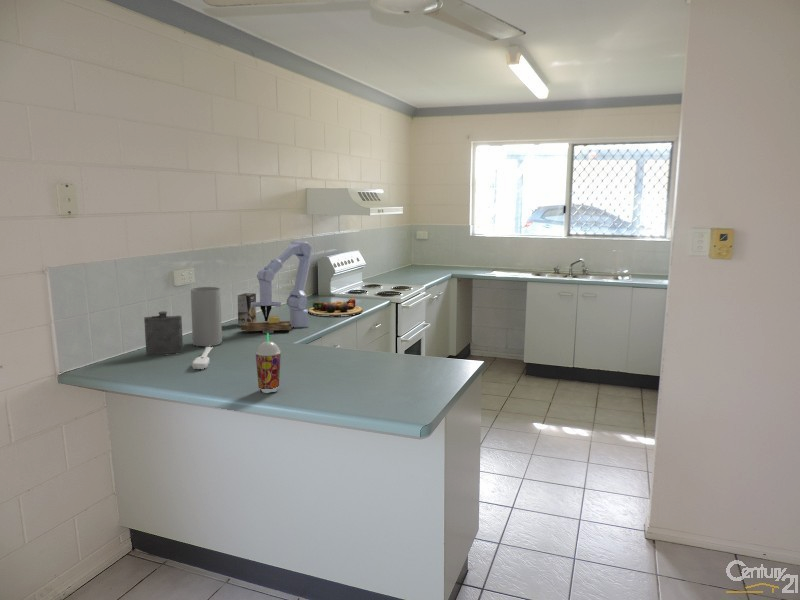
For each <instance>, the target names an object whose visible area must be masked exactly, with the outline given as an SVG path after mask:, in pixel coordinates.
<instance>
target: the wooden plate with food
mask: <svg viewBox="0 0 800 600" xmlns="http://www.w3.org/2000/svg"><path fill="white" fill-rule="evenodd" d="M313 310H314V311H313ZM363 311H364V310H363V308H362V307H361V306H359V305H358V306H357V305H356V299H355V298H354V297H351V298H349V299H348V300H347V301H345V300H344V301H339V300H338V301H335V302H334V301H333V302H326V301H324V302H320V300H316V301H313V303H312V307H310V308H309V309H308V312H309V313H312V314H316V315H329V316H341V315H353V314H357V315H359V314H358V313H360V314H362V313H361V312H363ZM309 313H308V314H309ZM353 316H354V315H353Z"/></svg>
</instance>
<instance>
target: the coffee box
mask: <svg viewBox="0 0 800 600" xmlns="http://www.w3.org/2000/svg"><path fill="white" fill-rule="evenodd" d="M255 302H257V294H256V293H255V292H254V293H253V292H251V293H248V292H246V293H241V294H238V295H237V326H239V327H241V324H245V322H257V307H251V303H255Z"/></svg>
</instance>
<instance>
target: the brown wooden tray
mask: <svg viewBox="0 0 800 600" xmlns="http://www.w3.org/2000/svg"><path fill="white" fill-rule="evenodd" d="M265 330H273V331H288V330H292V328H291V323H290V320H287V321H286V320H284V321H282V320H281V321H280V320H279V324H275V323H273V324H269V321H256V322H245V324H241V326H240V331H244V332H258V331H259V332H260V331H262V332H263V331H265Z"/></svg>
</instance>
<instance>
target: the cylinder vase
mask: <svg viewBox="0 0 800 600" xmlns="http://www.w3.org/2000/svg"><path fill="white" fill-rule="evenodd" d="M221 291H222V290H221V288H220V287H217V286H198V287H192V288H190V303H191V304H190V306H191V307H190V308H191V309H190V311H191V331H192V332H191V333H192V345H193V346H195V345H196V346H195V347H198V346H209V345H215V344H218V343H221V342H222V343H223V332H222V331H223V330H222V329H223V328H222V298H221V297H222V296H221V295H222V293H221ZM222 343H221V344H222Z"/></svg>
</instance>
